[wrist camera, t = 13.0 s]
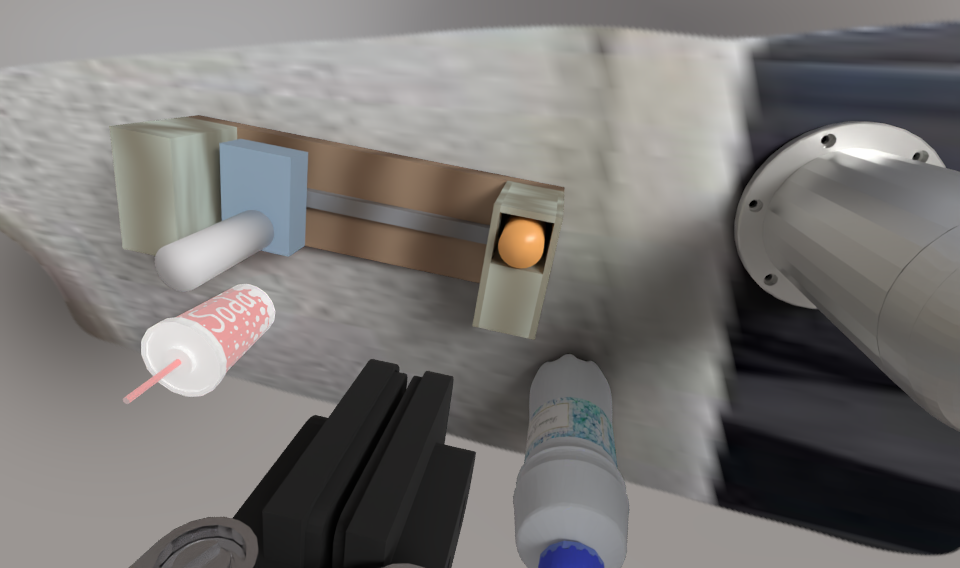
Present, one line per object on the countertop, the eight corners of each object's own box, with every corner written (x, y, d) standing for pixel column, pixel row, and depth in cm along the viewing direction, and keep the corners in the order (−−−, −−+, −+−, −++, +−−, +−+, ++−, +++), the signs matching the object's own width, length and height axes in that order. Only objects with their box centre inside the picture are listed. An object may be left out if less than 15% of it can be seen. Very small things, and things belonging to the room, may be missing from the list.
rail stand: (564, 187, 38) (563, 217, 30) (541, 288, 41) (534, 339, 33) (193, 114, 40) (102, 124, 32) (198, 215, 43) (116, 247, 35)
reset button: (550, 212, 33) (548, 230, 30) (541, 251, 34) (538, 272, 31) (509, 204, 34) (502, 221, 30) (502, 243, 35) (494, 263, 31)
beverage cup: (297, 314, 45) (189, 410, 32) (255, 352, 48) (139, 456, 35) (244, 261, 44) (111, 339, 31) (204, 302, 46) (64, 391, 34)
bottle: (567, 329, 42) (564, 530, 24) (629, 380, 43) (674, 613, 24) (512, 381, 44) (472, 600, 26) (572, 429, 45) (574, 672, 27)
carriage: (308, 152, 37) (216, 180, 27) (304, 245, 40) (220, 301, 30) (240, 138, 37) (127, 162, 28) (242, 232, 40) (139, 283, 31)
